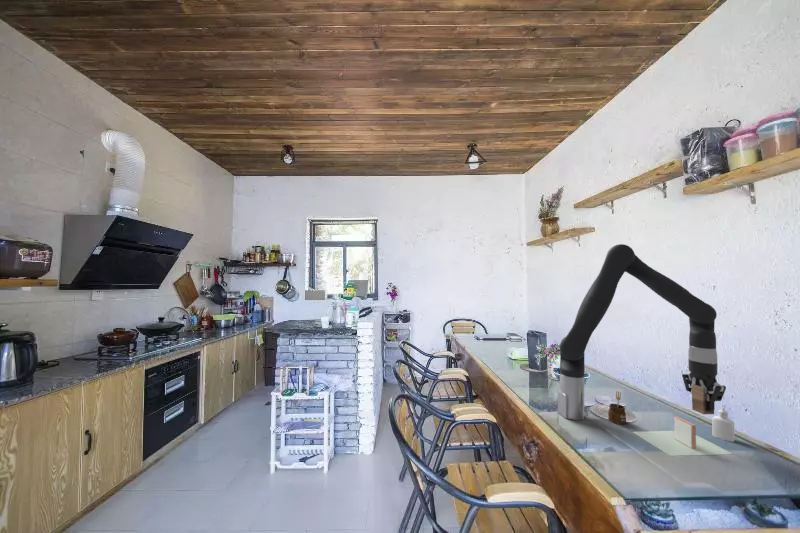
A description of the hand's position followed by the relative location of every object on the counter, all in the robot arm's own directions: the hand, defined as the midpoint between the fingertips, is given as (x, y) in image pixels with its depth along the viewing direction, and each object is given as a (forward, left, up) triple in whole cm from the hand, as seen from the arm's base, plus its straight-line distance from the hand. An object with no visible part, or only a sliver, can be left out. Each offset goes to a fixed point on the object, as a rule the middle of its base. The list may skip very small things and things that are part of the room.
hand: (703, 408), depth 115 cm
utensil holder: (-18, +18, -13) cm, 29 cm away
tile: (-7, 0, -12) cm, 14 cm away
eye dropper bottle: (+11, +3, -13) cm, 18 cm away
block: (0, 0, -1) cm, 1 cm away
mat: (-8, +1, -13) cm, 15 cm away
